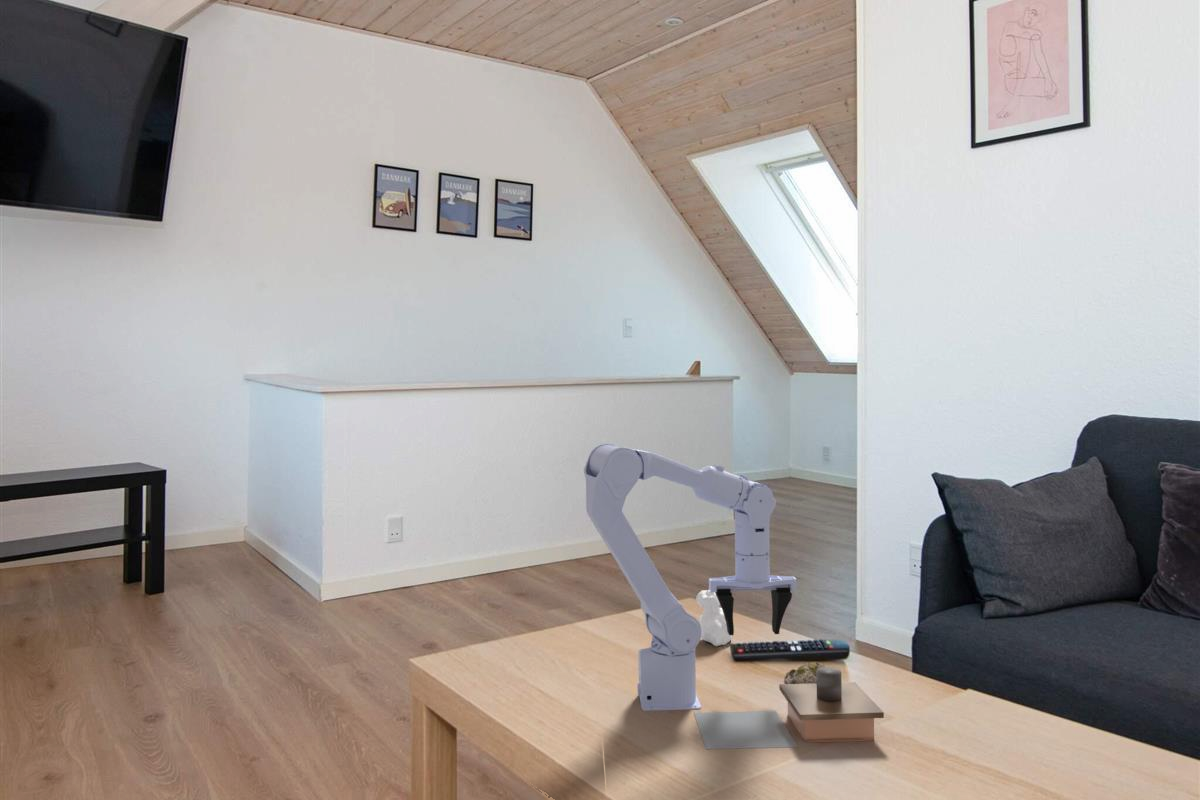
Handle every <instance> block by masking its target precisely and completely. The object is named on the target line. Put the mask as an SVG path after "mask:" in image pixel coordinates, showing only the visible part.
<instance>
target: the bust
mask: <svg viewBox="0 0 1200 800" xmlns="http://www.w3.org/2000/svg"><path fill="white" fill-rule="evenodd" d="M695 599H696V603H697V604H698V606H700V607H701V608H703V611H702V614H700V616H699V619H698V622H699V623H700V626H701V639H702V640H703V641H705V642H708V643H710V644H711V645H713V646H714V647H719V646H726V645H727V643H729V642H731V640H732V638H733V636H734V635H729V634H728V632H727V625H726V620H725V616H724V613H723V610H722V607H721V605H720V602H719V600H718V598H717V596H716V594H715V592H710V590H709V589H708V590H707V589H706V590H705V589H704V590H703V589H701V591H699V593H698V594H697V595H696V597H695ZM725 644H726V645H725Z"/></svg>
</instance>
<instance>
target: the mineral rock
mask: <svg viewBox="0 0 1200 800" xmlns="http://www.w3.org/2000/svg"><path fill="white" fill-rule="evenodd" d="M822 667H826V666H825V664H822V663H820V662H817V661H812V662H807V663H805V664H803V665H801V666H799V667H798V668H797V669H793V668H792V669H791V670H789V671H788V672H786V673H785V676H784V682H783V684H812V683H817V673H816V670H817V669H818V668H822Z"/></svg>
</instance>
